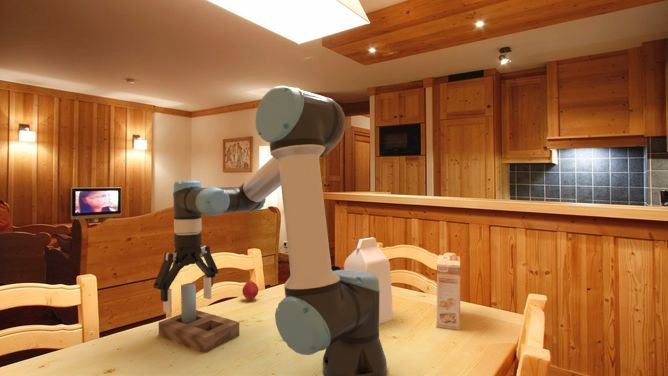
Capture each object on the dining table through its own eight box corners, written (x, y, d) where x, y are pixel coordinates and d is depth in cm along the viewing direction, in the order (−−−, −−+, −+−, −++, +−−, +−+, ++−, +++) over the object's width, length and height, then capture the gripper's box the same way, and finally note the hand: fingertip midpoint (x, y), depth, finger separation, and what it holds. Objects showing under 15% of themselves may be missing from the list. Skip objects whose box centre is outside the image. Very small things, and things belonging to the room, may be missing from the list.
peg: (199, 331, 106) (198, 284, 105) (187, 336, 102) (186, 288, 102) (190, 328, 108) (190, 282, 107) (178, 333, 104) (178, 286, 104)
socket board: (239, 335, 103) (239, 322, 102) (205, 353, 92) (204, 337, 92) (194, 321, 113) (193, 309, 113) (158, 335, 103) (158, 322, 103)
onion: (241, 299, 134) (241, 278, 134) (256, 297, 137) (256, 276, 137) (244, 304, 129) (244, 282, 129) (259, 301, 132) (259, 280, 131)
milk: (366, 328, 107) (366, 243, 107) (341, 317, 116) (341, 238, 116) (393, 318, 115) (393, 239, 115) (368, 309, 124) (368, 234, 123)
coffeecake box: (460, 330, 106) (460, 265, 106) (435, 327, 108) (435, 263, 108) (459, 313, 120) (460, 255, 120) (437, 310, 122) (438, 254, 122)
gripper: (213, 227, 117) (214, 291, 117) (138, 237, 96) (139, 316, 96) (229, 228, 113) (230, 295, 114) (155, 240, 92) (156, 321, 92)
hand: (188, 304), depth 105 cm, fingers open, 13 cm apart
